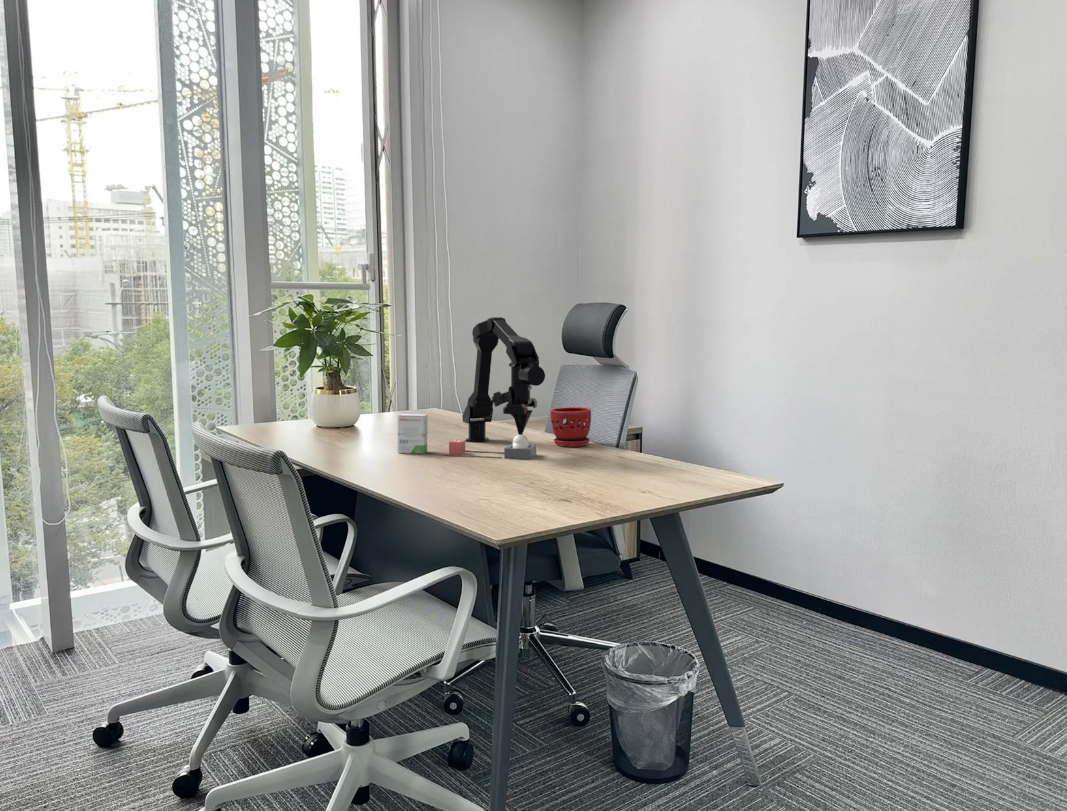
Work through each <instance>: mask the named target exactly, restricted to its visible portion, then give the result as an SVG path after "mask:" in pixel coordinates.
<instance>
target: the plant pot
mask: <svg viewBox="0 0 1067 811" xmlns="http://www.w3.org/2000/svg"><path fill="white" fill-rule="evenodd" d="M564 420H565V423H564ZM550 422H551V427H552V431H553V434H554V436H555V438H554V440H553V442H554V444H556V445H558V446H559V447H562V446H565V448H570V447H572V448H574V447H575V448H577V447H583V446H584V445H585V446H587V445H588V444H589V442H590V440H591V439H590V438H588V435H589V433H590V430H591V422H592V409H591V408H589V407H582V406H581V407H578V406H577V407H575V406H573V407H572V406H570V407H558V408H557V407H556V408H553V409H551V410H550Z"/></svg>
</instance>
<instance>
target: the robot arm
mask: <svg viewBox="0 0 1067 811" xmlns="http://www.w3.org/2000/svg"><path fill="white" fill-rule="evenodd" d="M499 340H500V341H501V342H502V343H503V345H504V346H505V348H506V349H505V353H506V355H507V357H508V358H509V360H510V362H509V364H508V366H509V367H510V368H511V369H510V386H509V387H508V391H505V392H501V391H496V392H493V394H492V395H493V396H491V397H490V395H489V390H490V388H489V387H490V376H491V368H492V357H493V351H494V350H495V349H496V348H497V347H498V344H499ZM472 341H473V343H474V345H475V347H476V349H477V350H476V351H477V352H476V361H475V370H474V371H475V376H474V384H473V385H474V386H473V392H472V393H471V394H470V396H468V399H467V403H466V406H465V408H464V411H463V413H462V416H461V418H462V423H465V424H467V425H468V437H467V438H466V439H464V440H465V442H477V443H479V442H480V443H482V442H483V443H484V442H486V441H488V440H489V438H490V437H488V436H487V437H486V435H487V434H486V433H487V432H486V429H487V427H486V425H487V424H486V423H491V422H492V420H493V412H494V408H496V407H499V406H500V405H504V404H505V403H506V404H505V405H504V406H503V408H502V413H503V415H510V416H512V417H513V419H514V422H515V425H516V429H517V435H518V434H521V435H522V434H523V435H524V431H525V429H526V427H527V424H528V422H529V419H530V418H531V415H532V412H533V411H534V410H533V409H536V408H537V407H538V400H536V398H535V397H531V390H532V388H533V386H535V387H537V386H540V385H542V384H543V382H544V381H545V379H546V373H545V371H544V369H543V368H542V367H541V366H540V360H539V359H540V357H539V355H538V352H537V351H536V349H535V345H534V344H533V343H534V342H532V341H531V340H530V339H528V338H526V337H523V336H520V335H519V334H518V333H517V332H516V331H515V330H514V329H513V328H512V326H510V325H509V324H508V323H507V321H506V318H504V317H500V316H499V317H497V316H496V317H493V316H491V317H489V318H487V319H486V320H484V321H481V322H479V323H477V324H476V325H475V326H474V327H473V328H472ZM528 407H532V408H533V409H532V410H531V409H529V408H528Z"/></svg>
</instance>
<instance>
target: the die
mask: <svg viewBox="0 0 1067 811" xmlns="http://www.w3.org/2000/svg"><path fill="white" fill-rule="evenodd" d="M465 440H466V439H464V440H463V439H456V438H455V439H452V440H449V441H448V454H451V455H464V454H466V452H465V450H466V441H465Z"/></svg>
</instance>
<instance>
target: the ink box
mask: <svg viewBox="0 0 1067 811" xmlns="http://www.w3.org/2000/svg"><path fill="white" fill-rule="evenodd" d="M428 417H429V415H428V414H420V413H419V414H417V413H415V414H414V413H401V414H398V415H397V454H417V455H419V454H420V455H423V454H426V453H427V452H428V425H429V424H428Z"/></svg>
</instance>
